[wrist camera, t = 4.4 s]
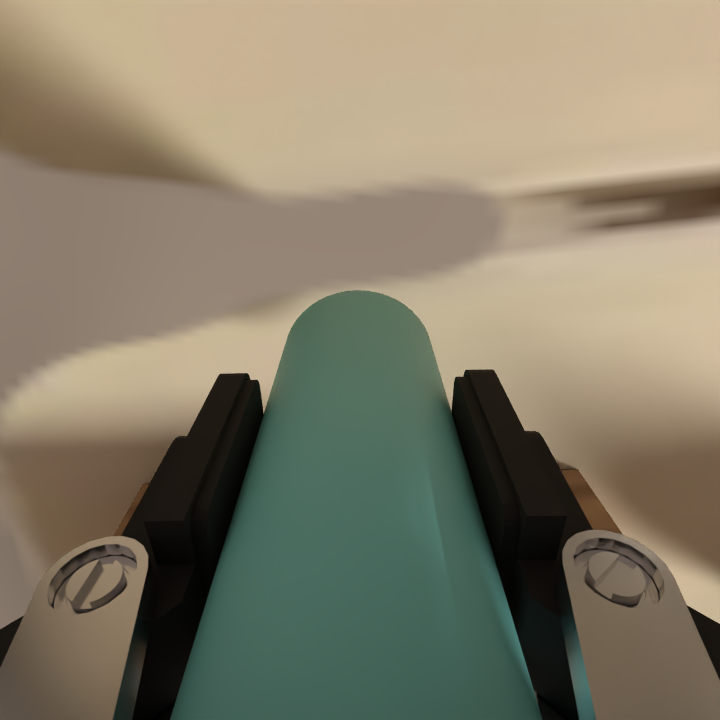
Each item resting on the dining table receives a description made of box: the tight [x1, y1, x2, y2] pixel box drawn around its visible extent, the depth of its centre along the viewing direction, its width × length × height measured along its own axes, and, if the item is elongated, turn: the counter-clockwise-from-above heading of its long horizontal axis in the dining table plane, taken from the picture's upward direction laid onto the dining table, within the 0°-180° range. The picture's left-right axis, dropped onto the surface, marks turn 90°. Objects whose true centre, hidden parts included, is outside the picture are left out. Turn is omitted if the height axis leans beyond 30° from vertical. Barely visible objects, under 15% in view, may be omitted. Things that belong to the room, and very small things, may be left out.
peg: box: [170, 291, 542, 720], centre depth 8 cm, size 4×4×12 cm
